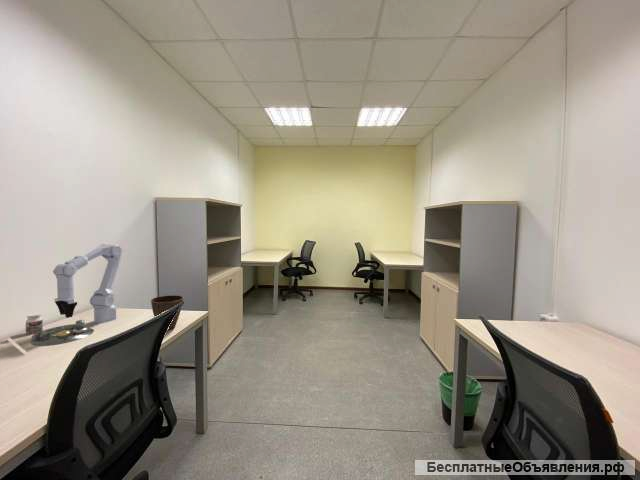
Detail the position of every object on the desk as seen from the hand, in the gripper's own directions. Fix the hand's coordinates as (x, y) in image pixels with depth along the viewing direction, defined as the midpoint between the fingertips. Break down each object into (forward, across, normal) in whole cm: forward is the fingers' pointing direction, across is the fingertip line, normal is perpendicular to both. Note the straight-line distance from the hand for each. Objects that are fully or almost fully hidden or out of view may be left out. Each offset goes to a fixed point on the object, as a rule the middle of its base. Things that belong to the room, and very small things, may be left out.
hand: (66, 315), depth 132 cm
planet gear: (+9, +3, +4) cm, 10 cm away
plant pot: (+10, +30, +33) cm, 46 cm away
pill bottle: (+10, -15, -8) cm, 20 cm away
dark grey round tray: (+10, +3, -2) cm, 10 cm away
